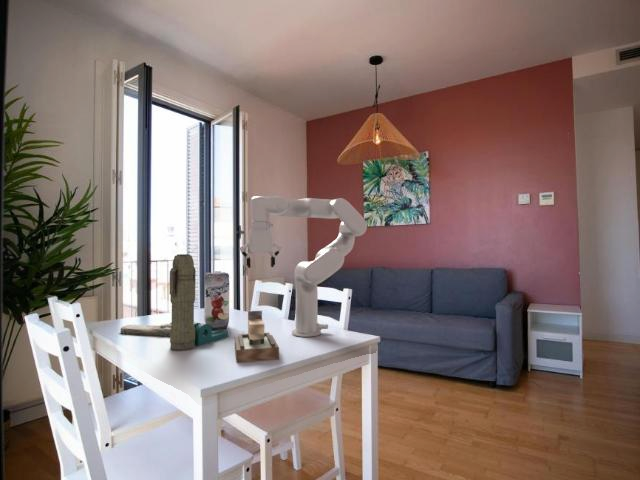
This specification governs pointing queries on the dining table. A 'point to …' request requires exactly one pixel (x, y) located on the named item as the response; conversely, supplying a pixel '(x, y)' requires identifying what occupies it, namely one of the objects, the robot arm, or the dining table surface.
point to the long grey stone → (147, 329)
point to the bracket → (207, 334)
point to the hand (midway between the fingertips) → (260, 267)
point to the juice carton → (217, 300)
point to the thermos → (182, 303)
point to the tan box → (255, 326)
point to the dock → (255, 348)
